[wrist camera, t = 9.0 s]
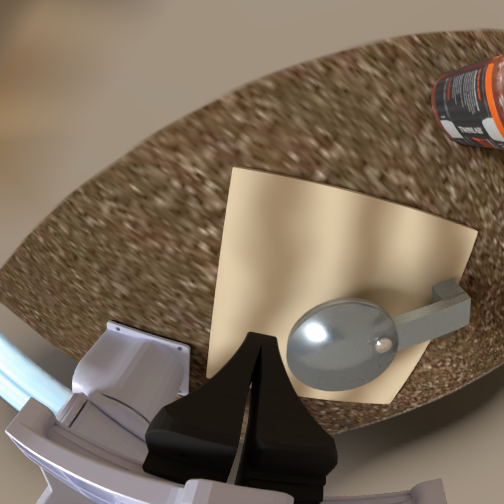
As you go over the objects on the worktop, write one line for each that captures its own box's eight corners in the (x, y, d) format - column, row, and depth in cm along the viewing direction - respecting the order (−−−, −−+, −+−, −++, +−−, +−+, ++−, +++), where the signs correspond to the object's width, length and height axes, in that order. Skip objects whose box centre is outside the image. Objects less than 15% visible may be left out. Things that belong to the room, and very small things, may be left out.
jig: (208, 369, 27) (198, 399, 24) (236, 165, 20) (222, 171, 16) (387, 396, 26) (394, 424, 22) (470, 227, 19) (497, 244, 15)
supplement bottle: (442, 152, 17) (545, 174, 7) (416, 79, 15) (509, 42, 5) (491, 138, 16) (589, 153, 5) (469, 70, 14) (562, 48, 3)
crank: (301, 372, 23) (301, 402, 20) (274, 298, 21) (270, 326, 17) (450, 328, 20) (466, 352, 16) (450, 245, 17) (474, 264, 14)
